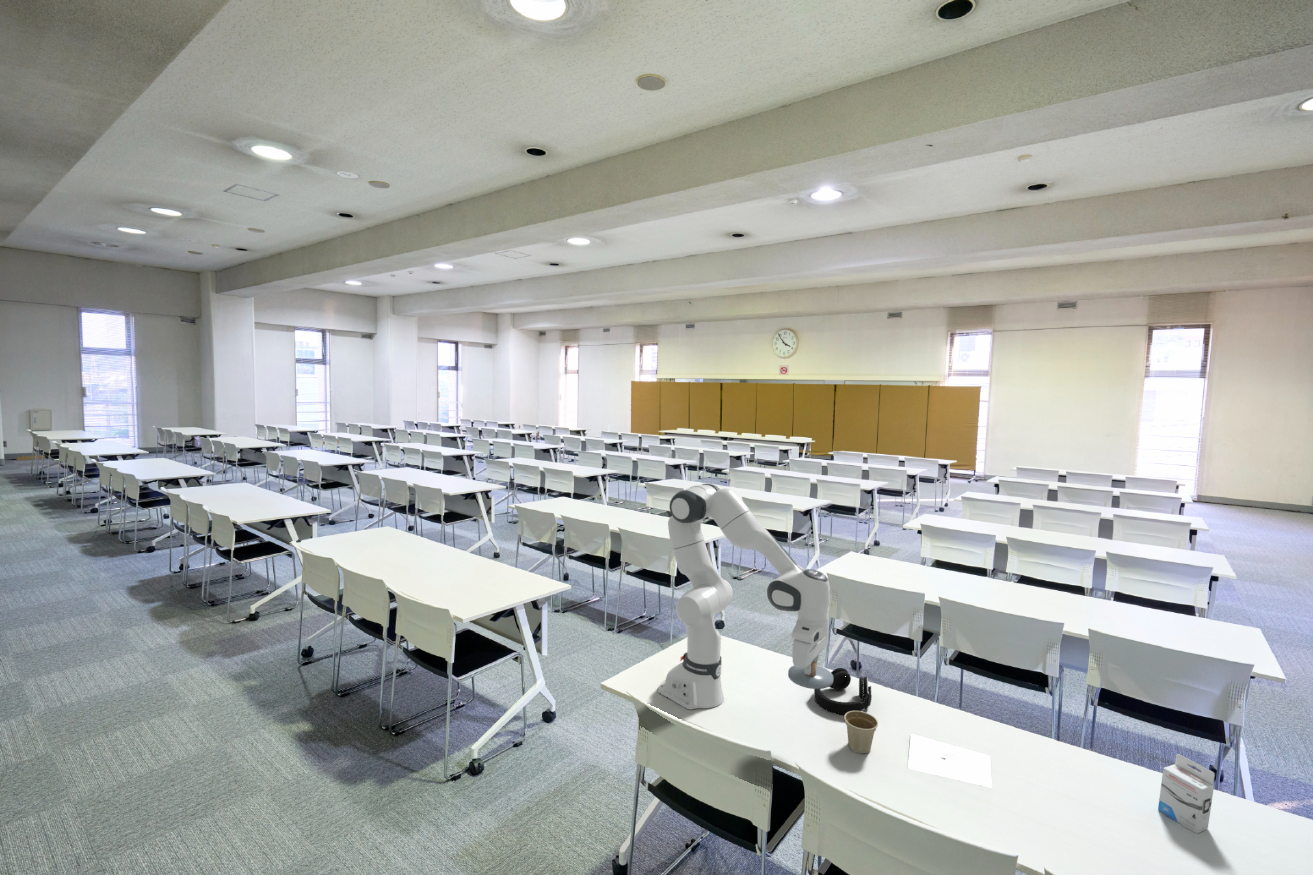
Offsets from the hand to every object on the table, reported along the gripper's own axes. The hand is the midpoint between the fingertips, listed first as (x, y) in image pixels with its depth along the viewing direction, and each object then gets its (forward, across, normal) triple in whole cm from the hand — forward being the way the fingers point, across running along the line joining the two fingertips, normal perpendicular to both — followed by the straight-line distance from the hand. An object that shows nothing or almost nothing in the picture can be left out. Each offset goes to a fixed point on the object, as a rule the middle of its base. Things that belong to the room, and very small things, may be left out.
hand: (810, 670), depth 177 cm
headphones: (+22, -27, +2) cm, 35 cm away
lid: (+2, 0, 0) cm, 2 cm away
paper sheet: (+22, -8, +37) cm, 44 cm away
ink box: (+22, -24, +88) cm, 94 cm away
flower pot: (+22, -5, +14) cm, 26 cm away
